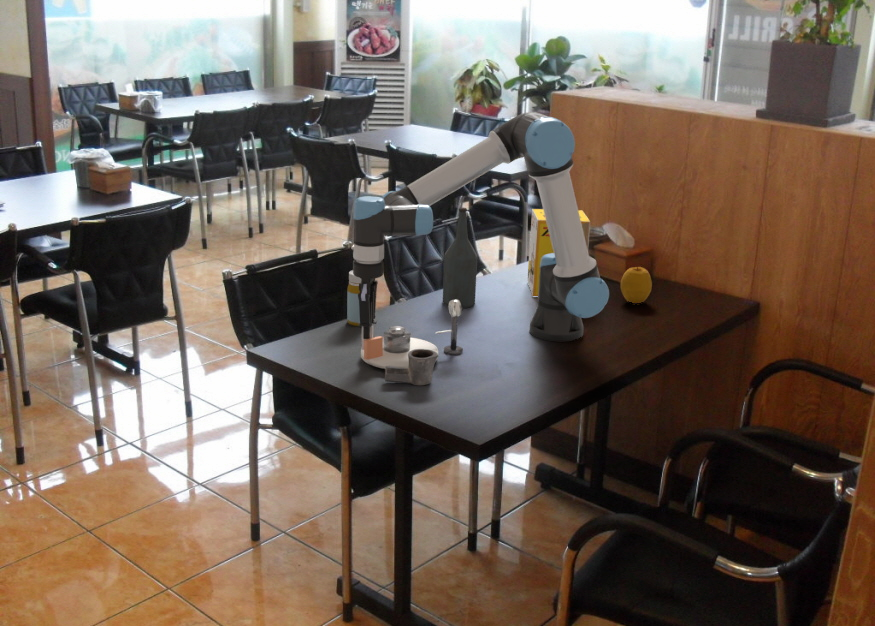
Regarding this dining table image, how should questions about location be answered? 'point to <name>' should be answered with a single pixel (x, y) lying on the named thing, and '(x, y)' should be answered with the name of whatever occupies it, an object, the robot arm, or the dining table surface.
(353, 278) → the bottle
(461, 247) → the bottle
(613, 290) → the dining table surface
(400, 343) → the cover
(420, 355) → the pipe
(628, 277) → the apple
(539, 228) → the packaging box
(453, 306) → the silver headed stand
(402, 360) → the turntable
